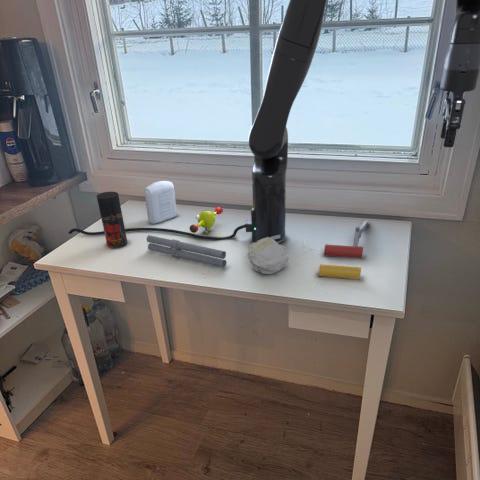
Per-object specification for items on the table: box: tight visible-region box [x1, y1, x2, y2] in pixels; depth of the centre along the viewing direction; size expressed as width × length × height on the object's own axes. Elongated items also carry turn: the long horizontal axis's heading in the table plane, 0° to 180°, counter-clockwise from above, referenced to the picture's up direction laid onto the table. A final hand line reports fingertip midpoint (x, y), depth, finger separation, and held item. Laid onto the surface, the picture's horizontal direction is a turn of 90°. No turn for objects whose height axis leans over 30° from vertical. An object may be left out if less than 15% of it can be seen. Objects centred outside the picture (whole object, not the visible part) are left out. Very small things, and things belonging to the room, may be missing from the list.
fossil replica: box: [247, 237, 290, 275], centre depth 120 cm, size 12×8×10 cm
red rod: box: [323, 243, 364, 259], centre depth 126 cm, size 10×3×3 cm, turn 75°
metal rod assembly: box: [146, 234, 227, 268], centre depth 128 cm, size 26×3×5 cm, turn 60°
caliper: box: [352, 220, 369, 247], centre depth 135 cm, size 20×1×6 cm, turn 159°
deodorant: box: [96, 191, 128, 249], centre depth 135 cm, size 6×6×15 cm
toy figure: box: [189, 206, 224, 234], centre depth 142 cm, size 18×6×7 cm, turn 154°
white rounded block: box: [143, 180, 178, 225], centre depth 152 cm, size 10×4×12 cm, turn 134°
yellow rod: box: [318, 263, 362, 281], centre depth 116 cm, size 10×3×3 cm, turn 75°
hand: (446, 142), depth 113 cm, fingers open, 8 cm apart
